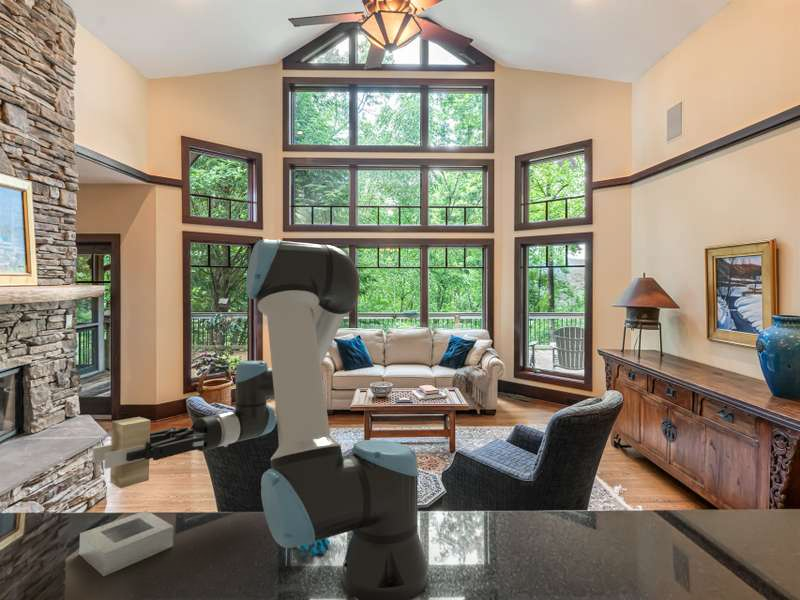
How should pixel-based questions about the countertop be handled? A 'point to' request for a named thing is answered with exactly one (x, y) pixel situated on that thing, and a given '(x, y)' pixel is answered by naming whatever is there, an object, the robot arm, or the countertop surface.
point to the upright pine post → (126, 437)
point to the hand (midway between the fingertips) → (99, 457)
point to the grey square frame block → (125, 542)
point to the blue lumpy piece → (314, 551)
